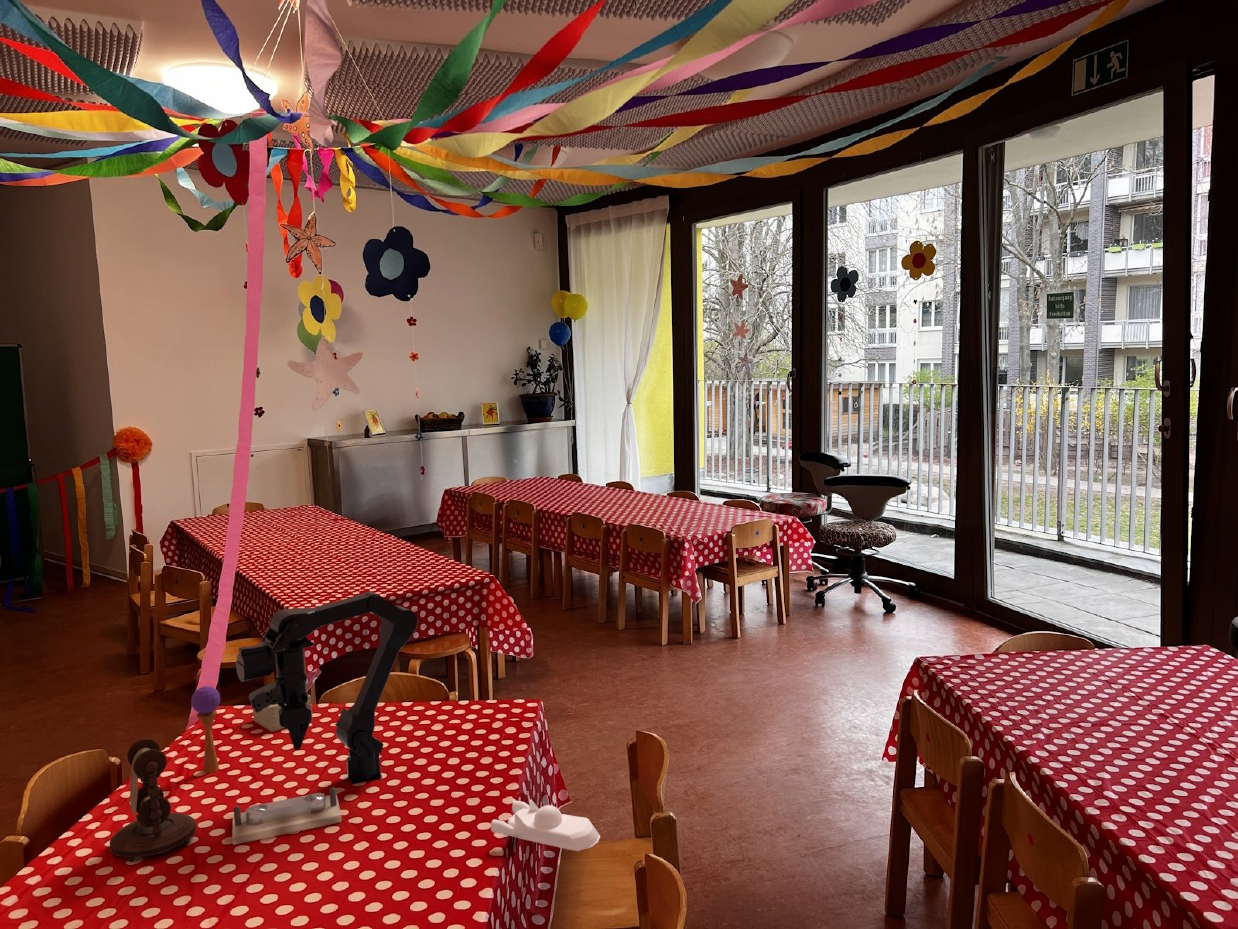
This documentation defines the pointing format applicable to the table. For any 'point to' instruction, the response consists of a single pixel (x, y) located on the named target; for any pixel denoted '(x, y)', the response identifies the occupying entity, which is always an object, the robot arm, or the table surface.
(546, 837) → the plane toy
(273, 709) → the pounding toy
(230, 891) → the table surface
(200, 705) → the kendama
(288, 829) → the peg rack
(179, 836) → the dark brown upright piece
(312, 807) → the grey baby rattle
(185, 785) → the table surface
